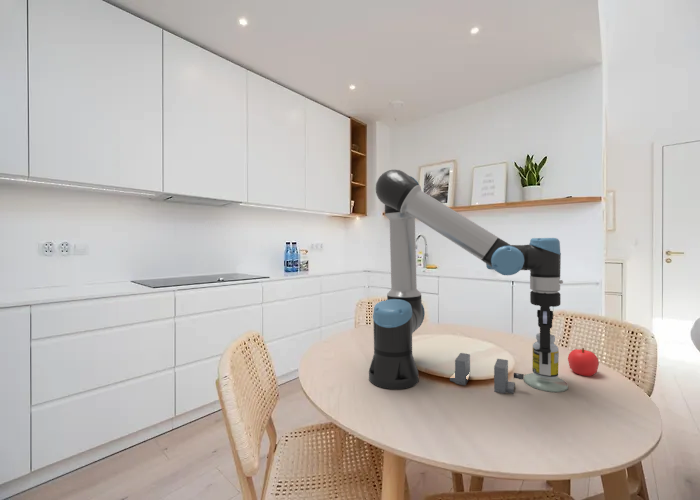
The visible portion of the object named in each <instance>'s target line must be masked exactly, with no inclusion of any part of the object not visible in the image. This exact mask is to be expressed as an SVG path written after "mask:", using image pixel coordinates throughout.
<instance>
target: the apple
mask: <svg viewBox="0 0 700 500" xmlns="http://www.w3.org/2000/svg"><path fill="white" fill-rule="evenodd" d="M567 356H568V357H567V361H568V362H567V363H568V364H569V365H568V366H569V369H571V370H572V371H573V372H574V373H575V374H576V375H579V376H584V377H591V376H594V375H595V374H596V373H598V368H599V364H600V362H599V358H598V357H597V356H596V354H595V353H594V352H593V351H591V350H586V349H585V347H582V348H581V349H579V348H575V349H573V350H571V351H570V352H569V354H568V355H567Z"/></svg>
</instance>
